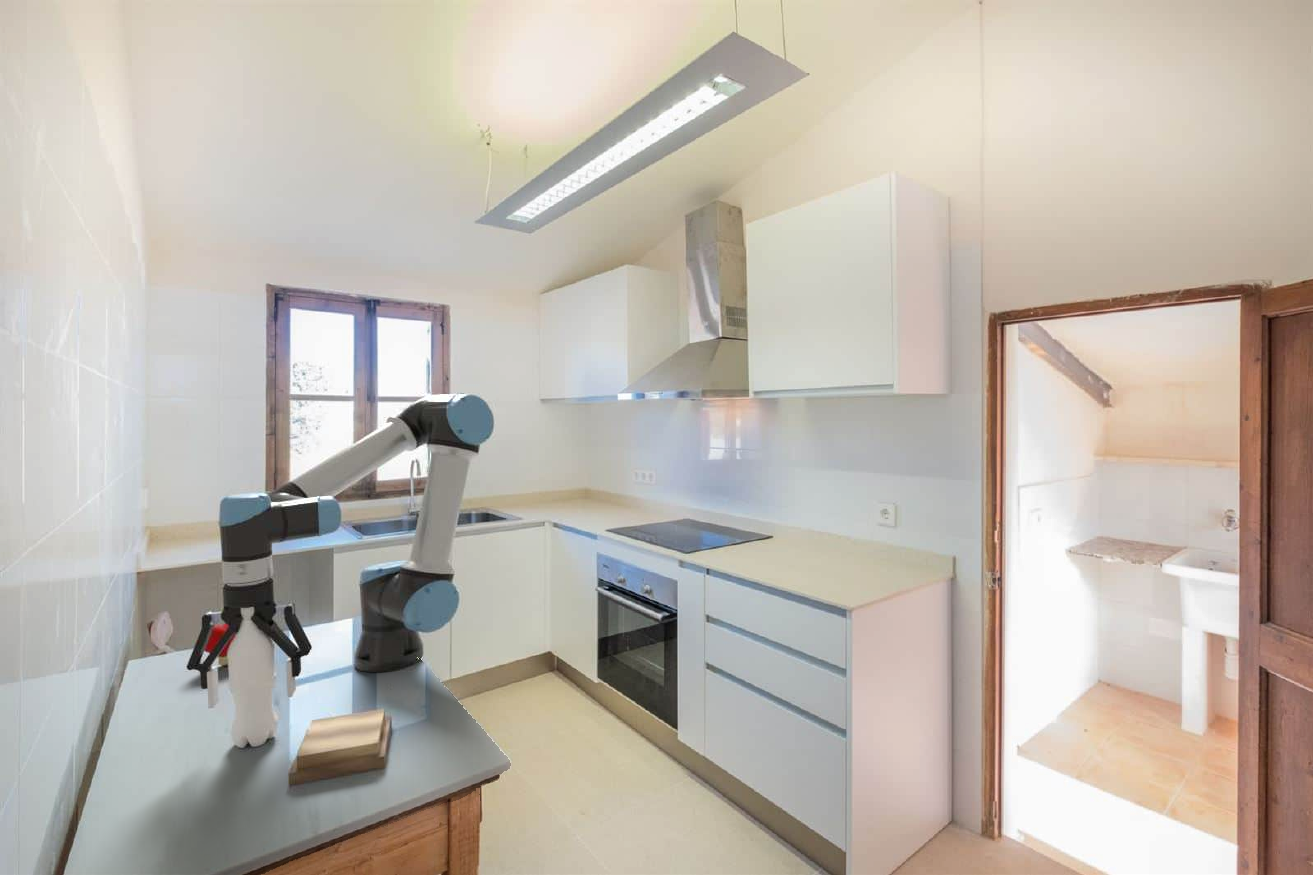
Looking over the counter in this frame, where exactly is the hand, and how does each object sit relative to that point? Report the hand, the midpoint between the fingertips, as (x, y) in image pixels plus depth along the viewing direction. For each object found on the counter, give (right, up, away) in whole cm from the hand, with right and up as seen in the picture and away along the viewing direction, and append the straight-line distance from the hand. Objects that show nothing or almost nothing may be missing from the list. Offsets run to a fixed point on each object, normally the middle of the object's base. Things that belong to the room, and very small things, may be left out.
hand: (253, 699), depth 109 cm
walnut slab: (+18, -8, -4) cm, 20 cm away
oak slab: (+18, -6, -4) cm, 20 cm away
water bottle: (0, -8, 0) cm, 8 cm away
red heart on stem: (-28, -6, +32) cm, 43 cm away
